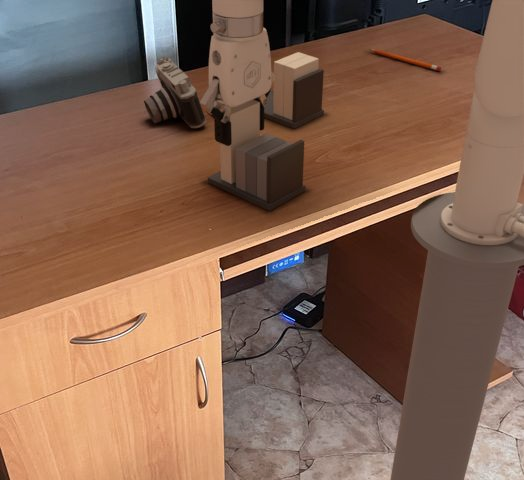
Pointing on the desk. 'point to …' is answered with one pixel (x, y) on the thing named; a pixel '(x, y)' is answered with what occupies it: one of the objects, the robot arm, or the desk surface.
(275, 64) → the dark bookend stand
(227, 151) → the white book
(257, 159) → the grey rack
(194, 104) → the camera
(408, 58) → the pencil
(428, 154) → the desk surface
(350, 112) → the desk surface
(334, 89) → the desk surface
